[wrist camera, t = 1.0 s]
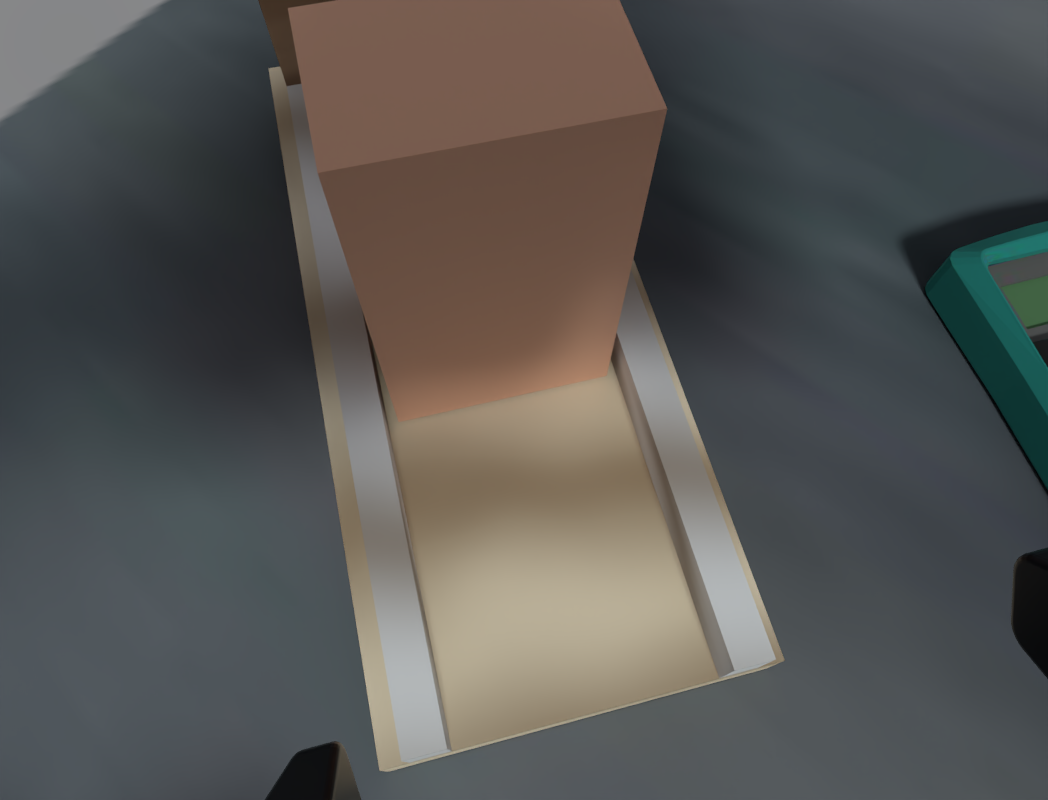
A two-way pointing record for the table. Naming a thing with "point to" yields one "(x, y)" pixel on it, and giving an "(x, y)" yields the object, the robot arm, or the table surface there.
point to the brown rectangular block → (482, 184)
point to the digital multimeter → (1004, 326)
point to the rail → (515, 519)
